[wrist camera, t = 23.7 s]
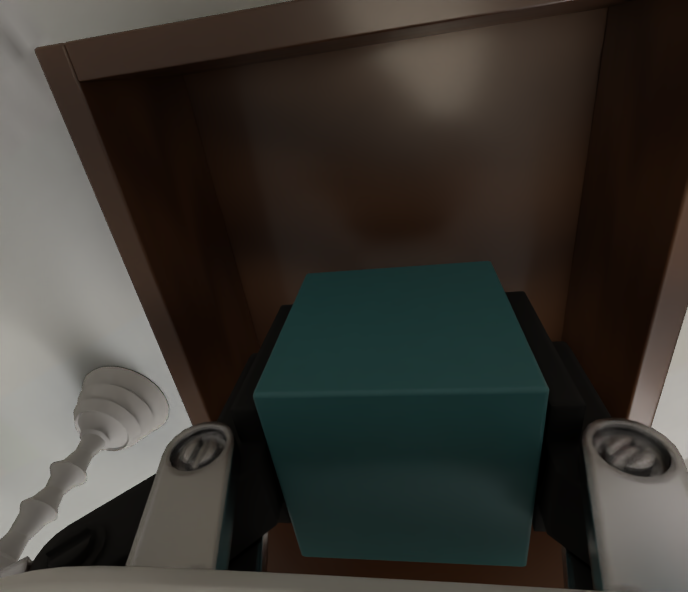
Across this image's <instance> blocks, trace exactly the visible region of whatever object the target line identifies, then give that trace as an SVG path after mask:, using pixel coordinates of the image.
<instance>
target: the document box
mask: <svg viewBox="0 0 688 592" xmlns="http://www.w3.org/2000/svg"><path fill="white" fill-rule="evenodd" d="M35 53H36V56H37V58H38V60H39V63H40V65H41V67H42V70H43V72H44V75H45V77H46V79H47V82H48V84H49V86H50V89H51V91H52V93H53V96H54V98H55V101H56V103H57V105H58V108H59V110H60V112H61V115H62V117H63V120H64V122H65V124H66V127H67V129H68V131H69V134H70V136H71V139H72V141H73V143H74V146H75V148H76V150H77V153H78V155H79V157H80V160H81V162H82V165H83V167H84V169H85V172H86V174H87V176H88V179H89V181H90V184H91V186H92V188H93V191H94V193H95V195H96V198H97V200H98V202H99V205H100V207H101V210H102V212H103V214H104V217H105V219H106V221H107V224H108V226H109V229H110V231H111V233H112V236H113V238H114V240H115V243H116V245H117V247H118V250H119V252H120V255H121V257H122V259H123V262H124V264H125V266H126V269H127V271H128V274H129V276H130V278H131V281H132V283H133V285H134V288H135V290H136V293H137V295H138V297H139V300H140V302H141V304H142V307H143V309H144V311H145V314H146V316H147V319H148V321H149V323H150V326H151V328H152V330H153V333H154V335H155V338H156V340H157V342H158V345H159V347H160V349H161V352H162V354H163V356H164V359H165V361H166V364H167V366H168V368H169V371H170V373H171V375H172V378H173V380H174V383H175V385H176V387H177V390H178V392H179V394H180V397H181V399H182V402H183V404H184V406H185V409H186V411H187V413H188V416H189V418H190V420H191V423H192V425H196V424H199V423H202V422H209V421H217V420H218V418H219V416H220V414H221V412H222V410H223V408H224V406H225V404H226V402H227V400H228V398H229V396H230V394H231V392H232V390H233V388H234V386H235V385H236V383H237V381H238V379H239V377H240V375H241V373H242V371H243V369H244V367H245V365H246V363H247V361H248V359H249V357H250V356H251V355H252V354H253V353H258V352H259V350H260V348H261V346H262V343H263V341H264V339H265V337H266V335H267V333H268V331H269V329H270V327H271V325H272V323H273V321H274V319H275V317H276V315H277V313H278V311H279V309H280V307H281V306H282V305H289V304H293V303H294V301H295V299H296V296H297V294H298V292H299V290H300V287H301V285H302V283H303V281H304V279H305V276H306V274H309V273H322V272H336V271H350V270H364V269H379V268H393V267H407V266H422V265H436V264H450V263H465V262H479V261H490V262H491V263H492V265H493V267H494V269H495V272H496V274H497V276H498V278H499V280H500V283H501V285H502V287H503V289H504V291H505V292H516V291H524V292H525V293H526V295H527V297H528V299H529V301H530V302H531V304H532V306H533V308H534V310H535V312H536V313H537V315H538V317H539V319H540V321H541V323H542V325H543V326H544V328H545V330H546V332H547V334H548V336H549V338H550V339H551V341H552V342H556V341H564V342H566V343H567V344H568V345H569V346H570V348H571V350H572V351H573V353H574V355H575V356H576V358H577V360H578V362H579V363H580V365H581V367H582V368H583V370H584V372H585V373H586V375H587V377H588V378H589V380H590V382H591V383H592V385H593V387H594V388H595V390H596V392H597V393H598V395H599V397H600V399H601V400H602V402H603V404H604V405H605V407H606V409H607V410H608V412H609V414H610V415H611V417H612V418H624V419H628V420H633V421H637V422H639V423H642V424H644V425H647V426H649V427H651V425H652V422H653V419H654V416H655V412H656V409H657V406H658V402H659V399H660V396H661V392H662V389H663V386H664V383H665V379H666V376H667V373H668V369H669V366H670V363H671V359H672V356H673V353H674V349H675V346H676V343H677V340H678V336H679V333H680V330H681V326H682V323H683V320H684V316H685V313H686V310H687V307H688V0H294V1H288V2H283V3H277V4H272V5H266V6H261V7H255V8H250V9H244V10H239V11H233V12H228V13H222V14H217V15H211V16H206V17H200V18H195V19H189V20H184V21H178V22H173V23H167V24H162V25H156V26H151V27H145V28H140V29H134V30H129V31H123V32H118V33H112V34H107V35H101V36H96V37H90V38H85V39H79V40H74V41H68V42H66V43H58V44H53V45H47V46H42V47H37V48H36V49H35Z"/></svg>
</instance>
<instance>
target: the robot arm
mask: <svg viewBox="0 0 688 592" xmlns="http://www.w3.org/2000/svg"><path fill="white" fill-rule="evenodd" d="M505 294H506V296H507V298H508V300H509V302H510V305H511V307H512V309H513V311H514V313H515V315H516V318H517V320H518V322H519V324H520V326H521V329H522V331H523V333H524V335H525V337H526V340H527V342H528V344H529V346H530V348H531V351H532V353H533V355H534V357H535V359H536V362H537V364H538V366H539V368H540V370H541V373H542V375H543V377H544V379H545V381H546V383H547V386H548V388H549V396H548V404H547V411H546V419H545V427H544V434H543V442H542V450H541V457H540V465H539V473H538V480H537V488H536V496H535V503H534V511H533V519H532V525H533V529H534V531H540V532H547V534H548V535H549V536H550V537H552V538H553V539H554V540H556V541H557V542H558V543H560V544H561V545H562V547H561V551H562V565H563V579H564V589H559V588H542V587H526V586H509V585H492V584H475V583H457V582H439V581H421V580H403V579H385V578H366V577H347V576H329V575H310V574H290V573H270V572H267V562H268V538H269V537H268V531H270V530H271V529H272V528H273V527H275V526H276V525H277V523H292V522H291V519H290V516H289V512H288V509H287V506H286V503H285V499H284V496H283V493H282V490H281V486H280V483H279V480H278V477H277V473H276V470H275V467H274V464H273V460H272V457H271V454H270V451H269V447H268V444H267V441H266V438H265V435H264V431H263V428H262V425H261V422H260V418H259V415H258V412H257V409H256V405H255V402H254V399H253V393H254V391H255V388H256V386H257V384H258V382H259V379H260V377H261V375H262V373H263V371H264V368H265V366H266V364H267V362H268V359H269V357H270V355H271V353H272V350H273V348H274V346H275V344H276V341H277V339H278V337H279V335H280V332H281V330H282V328H283V326H284V323H285V321H286V319H287V317H288V314H289V312H290V310H291V308H292V305H293V304H289V305H282V306H281V307H280V309H279V311H278V313H277V315H276V317H275V319H274V321H273V323H272V325H271V327H270V329H269V331H268V333H267V335H266V337H265V339H264V341H263V343H262V346H261V348H260V350H259V352H258V353H253V354H252V355H251V356H250V357H249V359H248V361H247V363H246V365H245V367H244V369H243V371H242V373H241V375H240V377H239V379H238V381H237V383H236V385H235V386H234V388H233V390H232V392H231V394H230V396H229V398H228V400H227V402H226V404H225V406H224V408H223V410H222V412H221V414H220V416H219V418H218V420H217V421H209V422H202V423H199V424H196V425H193V426H191V427H189V428H187V429H185V430H183V431H182V432H181V433H179V434H178V435H177V436H175V437H174V438H173V439H172V441H171V442H170V443H169V444H168V445H167V447H166V449H165V451H164V453H163V455H162V458H161V461H160V464H159V467H158V470H157V473H156V474H154V475H153V476H151V477H149V478H148V479H146V480H144V481H143V482H141V483H139V484H138V485H136V486H134V487H133V488H131V489H129V490H127V491H126V492H124V493H122V494H121V495H119V496H117V497H116V498H114V499H112V500H111V501H109V502H107V503H106V504H104V505H102V506H101V507H99V508H97V509H95V510H94V511H92V512H90V513H89V514H87V515H85V516H84V517H82V518H80V519H79V520H77V521H75V522H74V523H72V524H70V525H69V526H67V527H66V528H64V529H63V530H62V531H60V532H59V533H57V534H56V535H55V536H54V537H53V538H52V539H51V540H50V541H49V542H48V543H47V544H46V545H45V546H44V547H43V548H42V550H41V551H40V552H39V554H38V555H37V556H36V558H35V559H34V561H32V560H31V559H30V558H29V557H28V556H27V557H25V558H23V559H21V560H19V561H17V562H15V563H13V564H11V565H9V566H7V567H5V568H3V569H1V570H0V592H688V471H687V468H686V466H685V463H684V460H683V458H682V456H681V454H680V453H679V451H678V449H677V448H676V446H675V445H674V444H673V443H672V442H671V441H670V440H669V439H668V438H667V437H666V436H664V435H663V434H661V433H659V432H658V431H656V430H655V429H653V428H651V427H649V426H647V425H644V424H642V423H639V422H637V421H633V420H628V419H624V418H612V417H611V415H610V414H609V412H608V410H607V409H606V407H605V405H604V404H603V402H602V400H601V399H600V397H599V395H598V393H597V392H596V390H595V388H594V387H593V385H592V383H591V382H590V380H589V378H588V377H587V375H586V373H585V372H584V370H583V368H582V367H581V365H580V363H579V362H578V360H577V358H576V356H575V355H574V353H573V351H572V350H571V348H570V346H569V345H568V344H567V343H566V342H564V341H556V342H552V341H551V339H550V338H549V336H548V334H547V332H546V330H545V328H544V326H543V325H542V323H541V321H540V319H539V317H538V315H537V313H536V312H535V310H534V308H533V306H532V304H531V302H530V301H529V299H528V297H527V295H526V293H525V292H524V291H516V292H505Z"/></svg>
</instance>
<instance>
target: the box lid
mask: <svg viewBox="0 0 688 592" xmlns="http://www.w3.org/2000/svg"><path fill="white" fill-rule="evenodd" d="M268 537H269V538H268V562H267V572H270V573H290V574H310V575H329V576H347V577H366V578H385V579H403V580H421V581H439V582H457V583H475V584H492V585H509V586H526V587H542V588H559V589H564V579H563V565H562V551H561V547H562V545H561V544H560V543H558V542H557V541H556V540H554V539H553V538H552V537H550V536H549V535H548V534H547V532H540V531H534V529H533V525H532V526H531V534H530V542H529V549H528V557H527V564H526V566H524V567H516V566H495V565H473V564H452V563H430V562H409V561H388V560H366V559H345V558H323V557H305V556H302V554H301V551H300V548H299V545H298V541H297V538H296V535H295V532H294V528H293V525H292V523H277V525H276V526H275V527H273V528H272V529H271V530H270V531H268Z"/></svg>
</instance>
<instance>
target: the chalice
mask: <svg viewBox="0 0 688 592" xmlns="http://www.w3.org/2000/svg"><path fill="white" fill-rule="evenodd" d="M168 415H169V406H168V404H167V401H166V398H165V396H164V395H163V394H162V392H161V391H160V390H159V388H158V387H157V386H156V385H155V384H153V383H152V382H151V381H150V380H148V379H147V378H146V377H144V376H142V375H140V374H138V373H136V372H134V371H132V370H128V369H124V368H120V367H102V368H98V369H95V370H93V371H91V372H90V373H89V374H88V375H87V376H86V377H85V379H84V382H83V385H82V391H81V392H80V395H79V397H78V402H77V405H76V407H75V409H74V422H75V428H76V430H77V432H78V433H79V435H80V439H81V441H80V443H79V445H78V447H77V449H76V450H75V451H74V452H73V453H72V454H70V455H69V456H68V457H67V458H65V459H64V460H62V461H57V462H53V463H52V464H51V465H50V474H51V476H50V478H49V480H48V483H47V485H46V487H45V488H44V489H42V490H41V491H40V492H38V493H37V494H36V495H35V496H33V497H31V498H28V499H26V500H24V501H22V502H21V504H20V512H19V514H18V516H17V518H16V520H15V521H14V523H13V525H12V527H11V528H10V530H9V532H8V533H7V534H6V535H5V536H4V537H3V538H1V539H0V570H1V569H3V568H5V567H7V566H9V565H11V564H13V563H15V562H17V561H18V559H19V557H20V556H21V554H22V552H23V550H24V548H25V546H26V544H27V543H28V541H29V540H30V539H31V538H32V537H33V536H34V535H35V534H37V533H38V532H39V531H40V530H41V529H42V528H43V527H44V526H45V525H46V524H48V523H50V522H52V521H54V520H56V519H57V517H58V507H59V504H60V502H61V500H62V497H63V495H65V494H66V493H67V492H68V491H69V490H71V489H72V488H73V487H75V486H79V485H83V484H84V483H86V481H87V475H86V469H87V467H88V465H89V463H90V461H91V459H92V458H93V457H94V456H95V455H96V454H97V453H98V452H99V451H100V450H107V451H117V450H121V449H125V448H128V447H131V446H133V445H134V444H136V443H137V442H138V441H139V440H141V439H143V438H145V437H146V436H148V435H149V434H150V433H151V432H152V431H154V430H157V429H158V428H160V427H161V426H163V425H164V424H165V422H166V420H167V418H168Z"/></svg>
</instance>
